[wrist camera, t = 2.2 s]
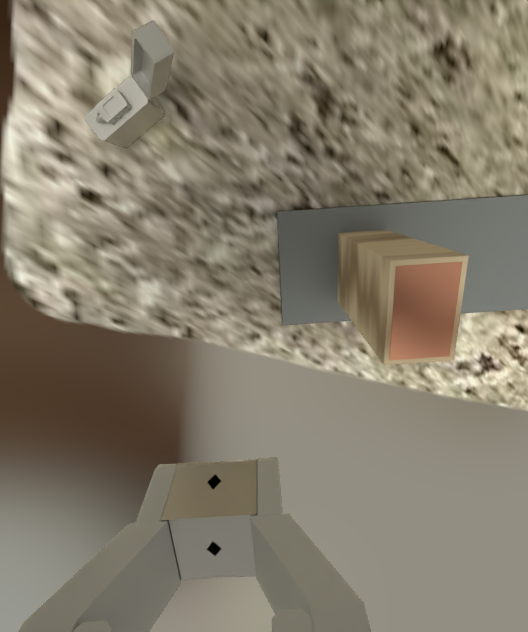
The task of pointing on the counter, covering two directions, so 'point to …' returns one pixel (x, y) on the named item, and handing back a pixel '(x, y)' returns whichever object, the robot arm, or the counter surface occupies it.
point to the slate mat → (416, 222)
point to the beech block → (401, 294)
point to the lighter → (135, 90)
